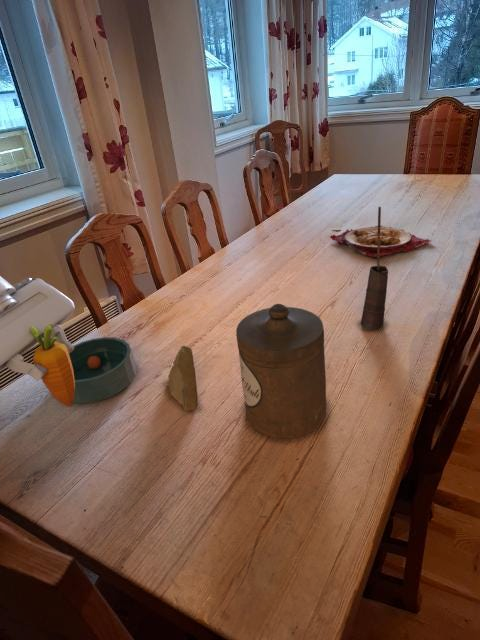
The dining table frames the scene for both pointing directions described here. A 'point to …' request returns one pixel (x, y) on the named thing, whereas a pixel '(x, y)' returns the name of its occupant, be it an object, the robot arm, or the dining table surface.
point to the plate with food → (389, 240)
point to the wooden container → (283, 370)
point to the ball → (94, 362)
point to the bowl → (101, 369)
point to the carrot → (55, 366)
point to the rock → (184, 379)
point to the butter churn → (375, 292)
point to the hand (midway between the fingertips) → (57, 364)
